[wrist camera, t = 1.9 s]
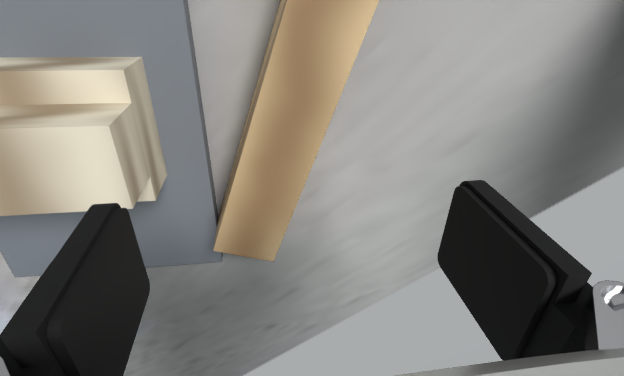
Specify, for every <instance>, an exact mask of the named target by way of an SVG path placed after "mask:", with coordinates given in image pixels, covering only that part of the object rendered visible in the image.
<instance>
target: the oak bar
mask: <svg viewBox="0 0 624 376" xmlns="http://www.w3.org/2000/svg"><path fill="white" fill-rule="evenodd" d="M378 2H379V0H281V1H280V4H279V8H278V11H277V15H276V18H275V22H274V25H273V29H272V32H271V36H270V39H269V43H268V46H267V50H266V53H265V57H264V60H263V64H262V67H261V71H260V74H259V77H258V81H257V84H256V88H255V91H254V95H253V98H252V102H251V105H250V109H249V112H248V116H247V119H246V123H245V126H244V130H243V133H242V137H241V140H240V144H239V147H238V151H237V154H236V158H235V161H234V165H233V168H232V172H231V175H230V178H229V182H228V185H227V189H226V192H225V196H224V199H223V203H222V206H221V210H220V213H219V217H218V223H217V230H216V236H215V243H214V249H213V251H217V252H223V253H228V254H234V255H239V256H245V257H250V258H256V259H262V260H267V261H273V262H274V259H275V257H276V254H277V252H278V249H279V247H280V244H281V242H282V240H283V237H284V235H285V232H286V230H287V227H288V225H289V222H290V220H291V217H292V215H293V212H294V210H295V207H296V205H297V202H298V200H299V197H300V195H301V192H302V190H303V188H304V185H305V183H306V180H307V178H308V175H309V173H310V170H311V168H312V165H313V163H314V160H315V158H316V155H317V153H318V150H319V148H320V145H321V143H322V141H323V138H324V136H325V133H326V131H327V128H328V126H329V123H330V121H331V118H332V116H333V113H334V111H335V108H336V106H337V103H338V101H339V98H340V96H341V93H342V91H343V89H344V86H345V84H346V81H347V79H348V76H349V74H350V71H351V69H352V66H353V64H354V61H355V59H356V56H357V54H358V51H359V49H360V46H361V44H362V41H363V39H364V37H365V34H366V32H367V29H368V27H369V24H370V22H371V19H372V17H373V14H374V12H375V9H376V7H377V4H378Z"/></svg>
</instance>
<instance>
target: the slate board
mask: <svg viewBox="0 0 624 376" xmlns="http://www.w3.org/2000/svg"><path fill="white" fill-rule="evenodd" d="M10 57H142V60H143V64H144V69H145V74H146V78H147V83H148V87H149V92H150V97H151V101H152V106H153V110H154V115H155V120H156V124H157V129H158V133H159V138H160V143H161V147H162V152H163V156H164V161H165V166H166V170H167V177H166V179H165V181H164V183H163V186H162V188H161V190H160V192H159V195H158V197H157V199H156V201H141V202H136V204H135V206H134V208H133V209H127V210H128V212H129V215H130V218H131V222H132V225H133V228H134V232H135V235H136V239H137V242H138V245H139V249H140V252H141V255H142V259H143V262H144V266H145V268H146V267H159V266H172V265H186V264H199V263H212V262H222V256H223V252H217V251H213V249H214V243H215V236H216V230H217V223H218V211H217V204H216V197H215V190H214V183H213V176H212V169H211V162H210V155H209V148H208V141H207V134H206V127H205V120H204V113H203V106H202V99H201V92H200V85H199V78H198V71H197V64H196V57H195V50H194V43H193V36H192V29H191V22H190V15H189V8H188V1H187V0H0V58H10ZM86 212H87V211H83V212H65V213H47V214H29V215H11V216H0V252H1V253H2V255H3V257H4V259H5V261H6V262H7V264H8V266H9V268H10V269H11V271H12V273H13V275H14V276H15V277H26V276H40V275H42V274H43V273H44V272H45V270H46V269H47V267H48V266H49V264H50V263H51V262H52V261H53V260H54V258H55V257H56V255H57V254H58V252H59V251H60V250H61V248H62V247H63V245H64V244H65V242H66V241H67V239H68V238H69V237H70V235H71V234H72V232H73V231H74V229H75V228H76V227H77V225H78V224H79V222H80V221H81V219H82V218H83V217H84V215H85V214H86Z"/></svg>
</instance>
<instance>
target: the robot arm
mask: <svg viewBox="0 0 624 376" xmlns="http://www.w3.org/2000/svg"><path fill="white" fill-rule="evenodd" d="M438 263H439V265H440V267H441V269H442V270H443V271H444V273H445V275H446V276H447V278H448V279H449V281H450V282H451V284H452V285H453V287H454V288H455V290H456V291H457V293H458V294H459V296H460V297H461V299H462V300H463V302H464V303H465V305H466V306H467V308H468V309H469V311H470V312H471V314H472V315H473V317H474V318H475V320H476V321H477V323H478V324H479V326H480V328H481V329H482V331H483V332H484V333H485V335H486V337H487V338H488V339H489V341H490V343H491V344H492V346H493V347H494V349H495V350H496V352H497V353H498V355H499V356H500V358H501V359H502V360H503V361H498V362H491V363H483V364H476V365H469V366H461V367H454V368H446V369H439V370H432V371H424V372H418V373H410V374H403V375H396V376H624V283H622V282H618V281H607V280H606V281H601V282H598V283H597V284H595V285H594V287H592V286H591V285H590V284H588V283H587V281H588V279H589V277H590V276H591V274H592V273H591V272H590V271H589V270H587V269H586V268H585V267H584V266H583V265H582V264H580V263H579V262H578V261H577V260H576V259H575V258H573V257H572V256H571V255H570V254H569V253H568V252H567V251H565V250H564V249H563V248H562V247H561V246H560V245H558V244H557V243H556V242H555V241H554V240H552V238H550V237H549V236H548V235H547V234H546V233H545V232H543V231H542V230H541V229H540V228H539V227H538V226H536V225H535V224H534V223H533V222H532V221H531V220H529V219H528V218H527V217H526V216H525V215H524V214H522V213H521V212H520V211H519V210H518V209H517V208H516V207H514V206H513V205H512V204H511V203H510V202H509V201H507V200H506V199H505V198H504V197H503V196H502V195H500V194H499V193H498V192H497V191H496V190H495V189H493V188H492V187H491V186H490V185H489V184H488V183H486V182H485V181H483V180H476V181H464V182H462V183H461V184H460V186H458V187H456V189H455V191H454V194H453V198H452V202H451V206H450V210H449V213H448V217H447V221H446V225H445V229H444V233H443V236H442V240H441V244H440V248H439V252H438ZM149 290H150V284H149V279H148V276H147V272H146V269H145V266H144V262H143V259H142V255H141V252H140V249H139V245H138V242H137V239H136V235H135V232H134V228H133V225H132V222H131V218H130V215H129V212H128V210H127V208H121V207H120V205H119V204H118V203H106V204H93V205H92V206H91V207H90V208H89V209H88V211H87V212H86V214H85V215H84V217H83V218H82V219H81V221H80V222H79V224H78V225H77V227H76V228H75V229H74V231H73V232H72V234H71V235H70V237H69V238H68V239H67V241H66V242H65V244H64V245H63V247H62V248H61V250H60V251H59V252H58V254H57V255H56V257H55V258H54V260H53V261H52V262H51V263H50V264H49V266H48V267H47V269H46V270H45V272H44V273H43V274H42V276H41V277H40V279H39V280H38V282H37V283H36V284H35V286H34V287H33V289H32V290H31V292H30V293H29V294H28V296H27V297H26V299H25V300H24V302H23V303H22V304H21V306H20V307H19V309H18V310H17V312H16V313H15V314H14V316H13V317H12V319H11V320H10V322H9V323H8V324H7V326H6V327H5V329H4V330H3V332H2V333H1V334H0V376H123V374H124V371H125V368H126V365H127V362H128V358H129V355H130V352H131V349H132V346H133V343H134V340H135V336H136V333H137V330H138V327H139V324H140V321H141V318H142V314H143V311H144V308H145V305H146V302H147V299H148V296H149Z"/></svg>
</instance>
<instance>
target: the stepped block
mask: <svg viewBox="0 0 624 376" xmlns="http://www.w3.org/2000/svg"><path fill="white" fill-rule="evenodd" d="M166 177H167V170H166V166H165V161H164V156H163V152H162V147H161V143H160V138H159V133H158V129H157V124H156V120H155V115H154V110H153V106H152V101H151V97H150V92H149V87H148V83H147V78H146V74H145V69H144V64H143V60H142V57H10V58H0V216H11V215H29V214H47V213H65V212H83V211H88V209H89V208H90V207H91V206H92V205H93V204H106V203H118V204H119V205H120V207H121V208H127V209H133V208H134V206H135V204H136V202H141V201H156V199H157V197H158V195H159V192H160V190H161V188H162V186H163V183H164V181H165V179H166Z"/></svg>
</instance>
